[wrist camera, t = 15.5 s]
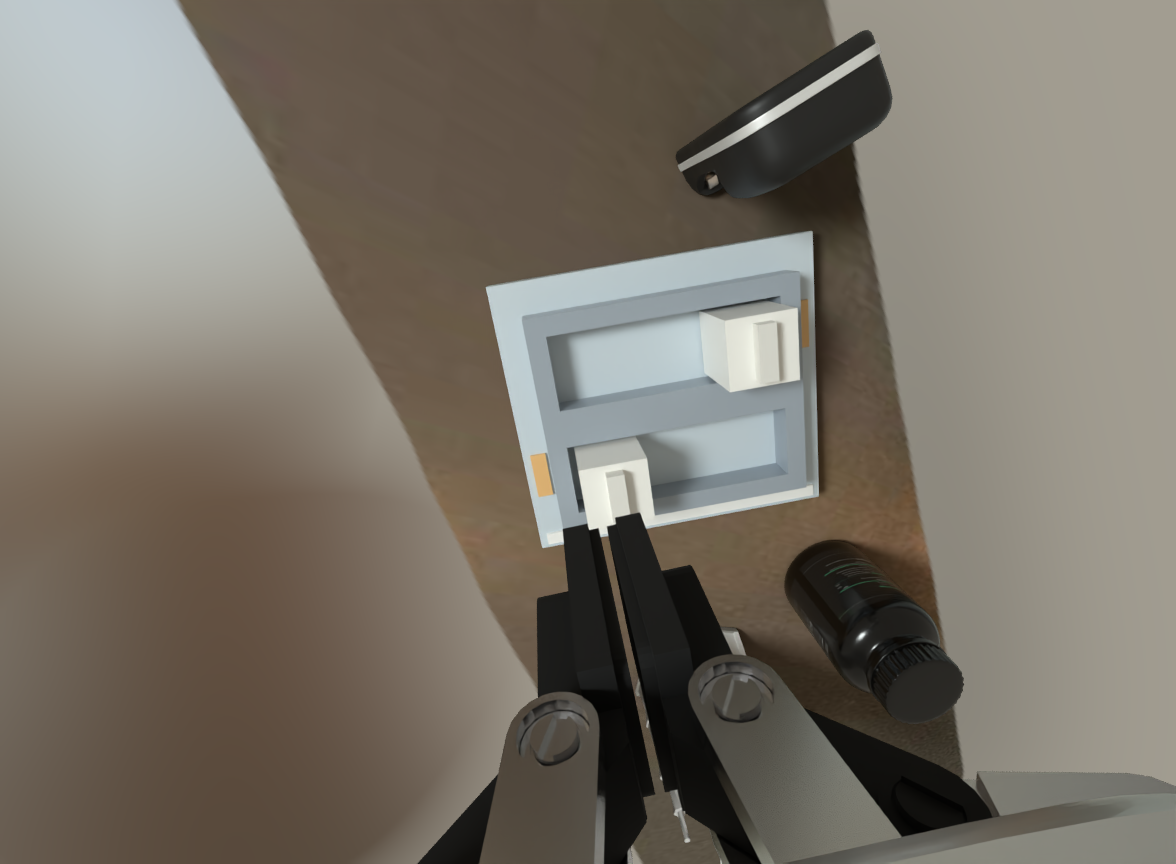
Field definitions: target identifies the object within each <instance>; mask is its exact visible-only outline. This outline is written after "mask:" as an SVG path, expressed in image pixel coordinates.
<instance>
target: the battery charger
mask: <svg viewBox="0 0 1176 864" xmlns="http://www.w3.org/2000/svg"><path fill="white" fill-rule="evenodd" d="M880 53H881V50H880V46H879V43H878V42H877V43H875V40H874V37H873V35H872V33H871V32H870V31H869V30H865V31H862V32H860V33H858V34H856V35H855V36H853V37H852V38H850V39H848V40H847V41H845V42H844V43H842V44H840V45H839V46H837V47H836V48H834V49H832V50H831V51H829V52H828V53H826V54H825V55H823V56H821V57H820V58H818V59H817V60H815V61H814V62H812V63H810V64H809V65H807V66H806V67H804V68H803V69H801V70H799V71H798V72H796V73H795V74H793V75H792V76H790V77H788V78H787V79H785V80H784V81H782V82H781V83H779V84H777V85H776V86H774V87H773V88H771V89H770V90H768V91H766V92H765V93H763V94H762V95H760V96H759V97H757V98H755V99H754V100H752V101H751V102H749V103H748V104H746V105H745V106H743V107H742V108H740V109H739V110H737V111H735V112H734V113H733V114H731V115H730V116H728V117H727V118H725V119H724V120H722V121H721V122H719V123H718V124H716V125H715V126H713V127H712V128H710V129H709V130H708V131H706V132H705V133H703V134H702V135H700V136H699V137H697V138H696V139H695V140H693V141H692V142H690V143H689V144H687V145H686V146H684V147H683V148H681V149H680V150H679V151H678V152H677V154H676V160H677V162H678V164H679V165H678V168H679V170H680V172H683V175H684V177H685V179H686V181H687V182H688V183H689V185H690V186H691V187H692V189H693V190H694V191H696V192H697V193H699V194H701V195H710V194H713V193H715V192H717V191H719V190H720V189H722V188H724V189H725V190H726V192H727V193H728V194H729V195H731V196H732V197H734V198H751V197H755V196H758V195H761V194H764V193H766V192H769V191H771V190H774V189H776V188H778V187H780V186H782V185H784V184H786V183H788V182H789V181H791V180H793V179H794V178H796V177H797V176H799V175H801V174H802V173H804V172H806V171H807V170H809V169H810V168H812V167H814V166H815V165H817V164H819V163H820V162H822V161H823V160H825V159H827V158H828V157H830V156H832V155H833V154H835V153H836V152H838V151H840V150H841V149H843V148H845V147H846V146H848V145H849V144H851V143H853V142H854V141H856V140H858V139H859V138H861V137H862V136H864V135H865V134H867V133H868V132H870V131H872V130H873V129H875V128H876V127H878V126H879V124H881V122H882V121H883V120H884V119H885V118H886V117H887V115H888V113H889V111H890V109H891V104H892V94H891V89H890V85H889V82H888V79H887V76H886V73H885V70H884V67H883V64H882V61H881V58H880V55H879V54H880Z"/></svg>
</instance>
